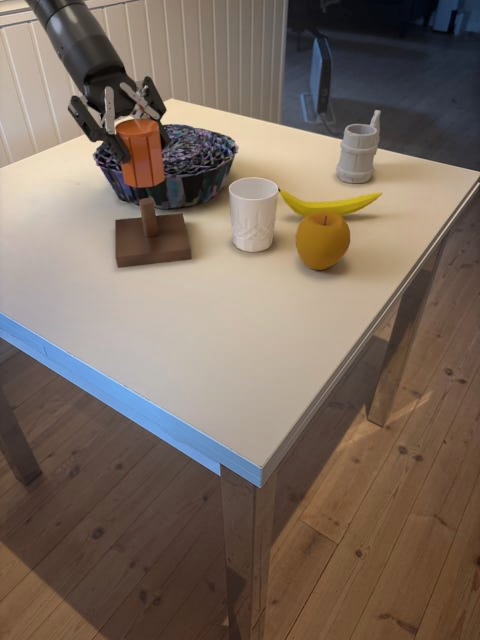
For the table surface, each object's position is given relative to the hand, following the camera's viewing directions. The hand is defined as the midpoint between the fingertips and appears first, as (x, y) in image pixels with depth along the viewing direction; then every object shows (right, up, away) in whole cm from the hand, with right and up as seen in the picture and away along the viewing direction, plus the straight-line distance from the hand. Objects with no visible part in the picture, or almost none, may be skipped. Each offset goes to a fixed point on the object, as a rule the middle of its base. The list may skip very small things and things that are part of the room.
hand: (147, 153), depth 72 cm
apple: (+26, -16, +7) cm, 32 cm away
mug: (+39, +7, +33) cm, 51 cm away
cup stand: (-1, -11, +12) cm, 17 cm away
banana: (+30, -6, +18) cm, 35 cm away
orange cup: (-1, -3, +4) cm, 5 cm away
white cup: (+16, -11, +12) cm, 23 cm away
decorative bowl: (0, +3, +28) cm, 29 cm away
